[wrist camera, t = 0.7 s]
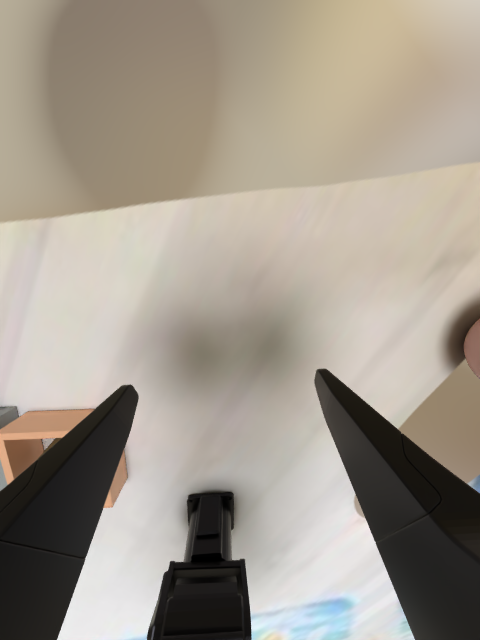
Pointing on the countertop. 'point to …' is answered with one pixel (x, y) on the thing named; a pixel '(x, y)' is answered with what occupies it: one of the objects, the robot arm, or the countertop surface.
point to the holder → (26, 445)
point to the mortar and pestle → (473, 348)
